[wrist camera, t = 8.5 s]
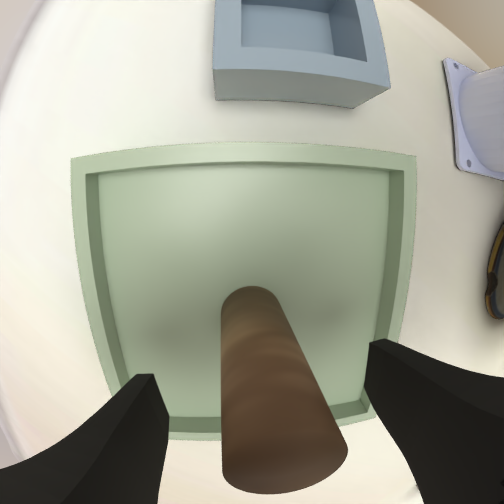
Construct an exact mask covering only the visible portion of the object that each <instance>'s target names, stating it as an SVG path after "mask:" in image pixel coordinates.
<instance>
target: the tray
mask: <svg viewBox="0 0 504 504" xmlns="http://www.w3.org/2000/svg"><path fill="white" fill-rule="evenodd" d="M416 192H417V169H416V156H412V155H406V154H400V153H393V152H387V151H379V150H372V149H363V148H354V147H345V146H333V145H321V144H305V143H281V142H218V143H195V144H179V145H166V146H155V147H145V148H136V149H128V150H120V151H113V152H106V153H100V154H94V155H88V156H82V157H77V158H71V199H72V216H73V228H74V238H75V246H76V254H77V261H78V268H79V274H80V280H81V286H82V291H83V296H84V301H85V306H86V311H87V315H88V319H89V323H90V327H91V331H92V335H93V339H94V343H95V346H96V350H97V353H98V357H99V360H100V363H101V366H102V369H103V372H104V375H105V378H106V381H107V384H108V387H109V390H110V393H111V395H112V397H113V396H114V395H115V394H116V393H117V392H118V391H119V390H120V389H121V388H122V387H123V386H124V385H125V384H126V383H127V382H128V381H129V380H130V379H131V378H132V377H134V376H135V375H136V374H147V373H154V376H155V379H156V382H157V385H158V387H159V390H160V393H161V395H162V398H163V401H164V403H165V406H166V408H167V411H168V413H169V416H170V419H169V437H168V439H171V440H195V441H221V309H222V305H223V303H224V301H225V300H226V298H227V297H228V296H229V295H230V294H231V293H232V292H234V291H235V290H237V289H239V288H242V287H246V286H258V287H262V288H265V289H267V290H269V291H270V292H272V293H273V294H274V295H275V296H276V298H277V299H278V301H279V303H280V305H281V307H282V309H283V311H284V313H285V316H286V318H287V320H288V322H289V324H290V326H291V328H292V330H293V332H294V334H295V336H296V339H297V341H298V343H299V345H300V347H301V349H302V351H303V353H304V355H305V358H306V360H307V362H308V364H309V366H310V368H311V370H312V372H313V374H314V376H315V379H316V381H317V383H318V385H319V387H320V389H321V391H322V393H323V395H324V398H325V400H326V402H327V404H328V406H329V408H330V410H331V412H332V414H333V417H334V419H335V421H336V423H337V425H338V427H340V426H344V425H349V424H353V423H357V422H361V421H365V420H369V419H372V418H375V417H376V414H377V413H376V412H375V410H374V409H373V407H372V404H371V402H370V400H369V398H368V396H367V394H366V391H365V389H364V381H365V374H366V366H367V358H368V350H369V342H372V341H376V340H380V339H383V338H385V339H388V340H391V341H394V342H396V343H398V339H399V335H400V330H401V325H402V320H403V315H404V310H405V305H406V299H407V293H408V287H409V280H410V272H411V265H412V256H413V246H414V234H415V219H416Z"/></svg>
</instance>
